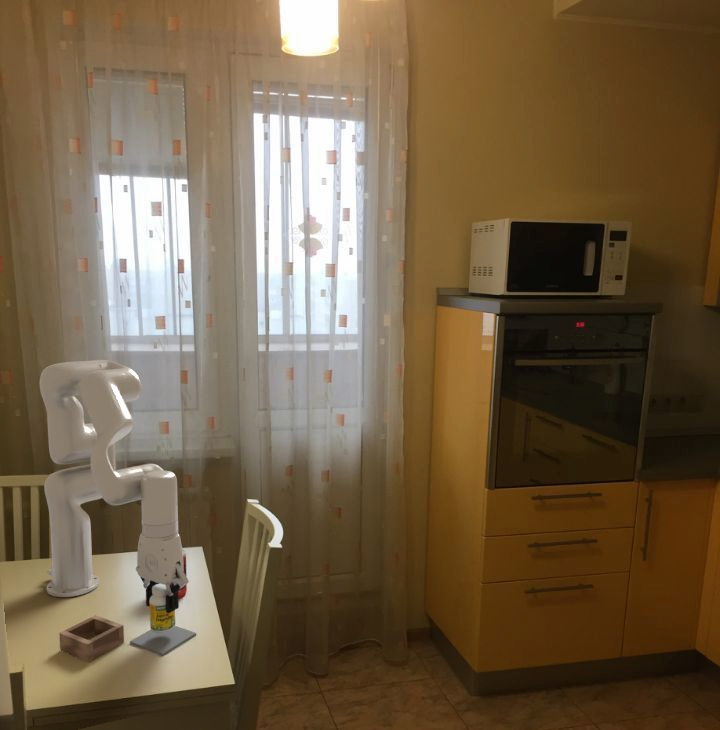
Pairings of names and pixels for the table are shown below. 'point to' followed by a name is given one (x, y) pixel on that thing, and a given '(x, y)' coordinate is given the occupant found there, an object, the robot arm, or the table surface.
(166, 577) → the robot arm
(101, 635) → the sleeve holder
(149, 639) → the rubber mat
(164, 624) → the supplement bottle
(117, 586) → the table surface
